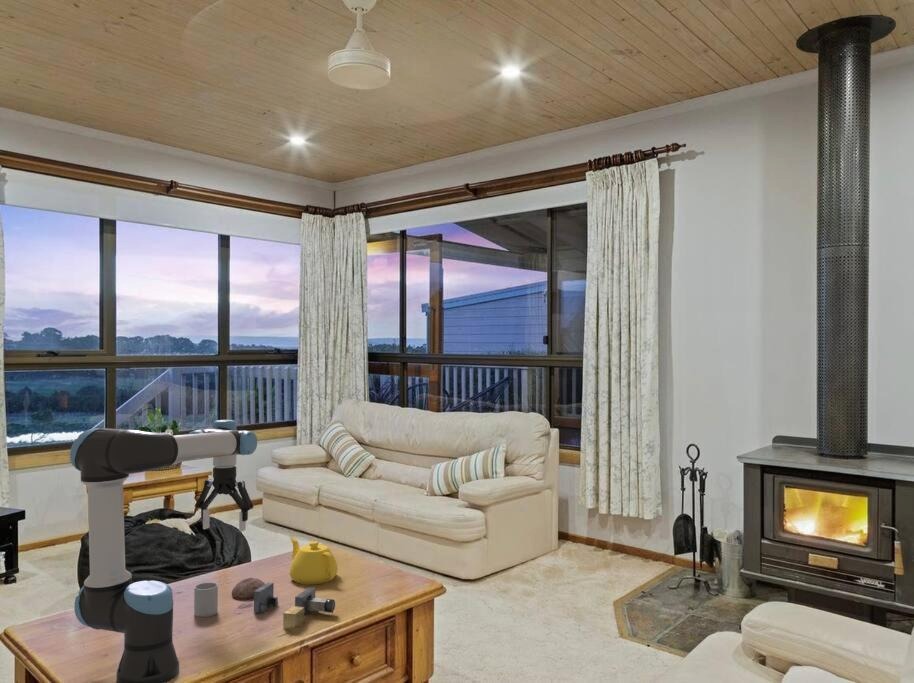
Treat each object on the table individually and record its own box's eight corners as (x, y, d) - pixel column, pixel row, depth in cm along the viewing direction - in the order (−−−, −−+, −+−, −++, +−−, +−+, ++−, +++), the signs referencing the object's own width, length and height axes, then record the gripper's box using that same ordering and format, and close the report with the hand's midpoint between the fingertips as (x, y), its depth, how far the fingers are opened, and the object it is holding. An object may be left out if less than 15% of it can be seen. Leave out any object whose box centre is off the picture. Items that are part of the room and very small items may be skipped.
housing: (315, 607, 230) (315, 586, 230) (302, 618, 221) (302, 596, 221) (268, 602, 235) (268, 582, 235) (253, 612, 225) (253, 591, 226)
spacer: (304, 623, 217) (304, 607, 217) (295, 630, 211) (295, 614, 211) (292, 621, 218) (292, 606, 218) (283, 629, 212) (283, 612, 212)
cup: (197, 619, 220) (197, 591, 220) (189, 609, 228) (189, 582, 228) (220, 614, 224) (220, 586, 225) (211, 605, 232) (211, 578, 233)
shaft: (335, 610, 225) (335, 597, 225) (329, 614, 221) (330, 602, 221) (302, 606, 228) (302, 594, 228) (296, 611, 224) (296, 598, 225)
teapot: (272, 577, 262) (272, 540, 263) (309, 566, 276) (309, 531, 276) (314, 591, 247) (315, 552, 247) (351, 578, 260) (351, 542, 261)
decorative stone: (225, 599, 239) (225, 583, 239) (242, 588, 250) (242, 572, 251) (256, 601, 236) (256, 585, 236) (272, 590, 248) (272, 574, 248)
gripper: (264, 465, 232) (263, 529, 232) (198, 463, 238) (198, 524, 237) (252, 469, 225) (251, 534, 224) (185, 466, 230) (184, 530, 230)
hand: (224, 529), depth 231 cm, fingers open, 13 cm apart
